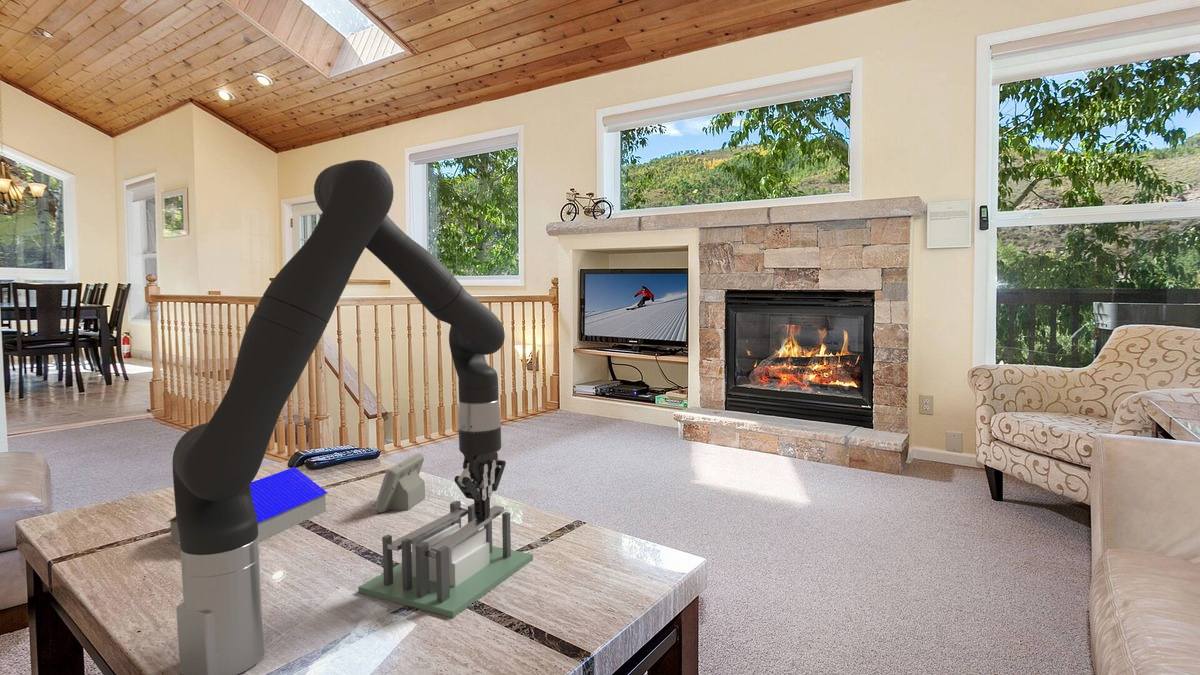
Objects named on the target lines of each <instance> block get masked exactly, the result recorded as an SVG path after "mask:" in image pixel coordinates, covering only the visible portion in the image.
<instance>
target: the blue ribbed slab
mask: <svg viewBox="0 0 1200 675" xmlns="http://www.w3.org/2000/svg"><path fill="white" fill-rule="evenodd" d="M250 484H251V495H252V501H253V505H254V509H255V512H256V515H257V520H258V541H259V543H261V542H263V541H265V540H268V539H270V538H272V537H274V536H277V535H278V534H280V533H283V532H284V531H287V530H289V529H292V528H293V527H295V525H296V526H297V524H298V525H300V524H302V523H304V522H306V521H309V520H310V519H312V518H314V516H315V517H316V516H320V514H322V513H325V512H326V511H327V509H326V507H327V506H326V505H327V504H326V495H327V494H328V493H329V492H327V490H325V489H324V488H322V487H321V486H320V485H318V484H317V483H316V482H315V481H313V480H312V479H311V478H309V477H308V476H307V475H306V474H304V473H303V472H301V470H299V469H298V468H296V467H295V466H293V467H291V468H288V469H284V470H282V471H278V472H276V473H274V474H271V475H268V476H266V477H263V478H259V479H257V480H253V481H252V482H251V483H250ZM305 520H306V521H305ZM303 521H304V522H303ZM301 522H302V523H301ZM166 523H170V524H169V525H170V537H171V538H170V539H171V541H177V542H176V543H178V542H180V537H179V531H178V526H177V520H176V515H175V516H173V517H172V518H170V519H168V520H167V521H166ZM299 523H300V524H299Z"/></svg>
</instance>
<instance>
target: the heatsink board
mask: <svg viewBox="0 0 1200 675" xmlns="http://www.w3.org/2000/svg"><path fill="white" fill-rule="evenodd" d="M461 503H462V502H461V500H454V501H453V502H451V503H450V502H449V513H451V512H453V511H455V510H458V508H462V506H461V505H462V504H461ZM467 509H468V514H467V524H468V523H469V522H471V521H472V520H474V519H475V518H476V517H475V511H474V503H472V504H470V505H468V506H467ZM501 522H502V523H501V524H502V526H501V528H502V530H501V531H502V533H501V534H502V547H499V546H498V547H497V546H494V545H493V520H491V521H490V522H489V523H487V524H486V525H484V526H483V527H482V529H481V528H480V529H479V530H477V531H476V532H474V533H473V534H471V535H470V536H469V537H467V538H466V539H464V540H463V541H461V542H460V543H459V544H457V545H456V546H454V547H453V548H451V549H450V550H449V547H448V546H442V547H441V548H439V549H437V550H436V558H432V557H427V556H425V552H426V551H429V550H430V549H431V548H432V547H434V546H435V545H437V544H438V543H440V542H441V541H443V540H444V539H446V538H447V537H449V536H450V535H452V534H453V533H455V532H456V531H458V530H459V529H460V528H462V527H463V526H462V518H460V519H458V520H456V521H454V522H452V523H450V524H448V525H446V526H444V527H442V528H441V529H439V530H437V531H435V532H433V533H431V534H429V535H427V536H425V537H423V538H422V539H420V540H418V541H416V542H414V543H412V544H411V540H410V539H405V540H403V541H401V546H402V549H401V562H400V563H399V564H397V565H395V566H394V564H393V563H394V560H393V558H394V557H393V550H391V549H388V545H387V544H389V543H391V542H393V535H391V534H386V535H384V536H382V539H381V541H382V567H383V568H382V569H383V570H382V572H383V573H381V574H378V575H377V576H376V577H373V578H371V579H370V580H368V581H366V582H365V583H362V584H361V585H359V586H358V590H357V591H358V593H360V594H362V595H367V596H370V597H373V598H378V599H381V600H386V601H388V602H393V603H397V604H400V605H403V606H408V607H411V608H415V609H418V610H422V611H427V612H430V613H433V614H438V615H442V616H445V617H449V618H452V619H454V618H455V617H457V616H458V615H459V614H461V613H462V612H464V611H465V610H466V609H468V608H469V607H470V606H471V604H472V603H473V604H474V603H475V601H476V602H477V601H478V600H480V599H481V598H482V597H484V596H485V595H487V594H488V593H490V590H491V589H492V590H493V589H495V588H496V587H498V586H499V585H500V584H501V583H503V582H504V581H506V580H507V579H508V578H510V577H512V576H513V574H515V573H517V571H519V570H520V569H523V567H525V566H526V565H527V564H529V563H530V562H531V561H533V560H534V554H533V553H529V552H524V551H520V550H519V551H518V550H514V549H512V548H511V547H512V546H511V545H512V544H511V542H512V541H511V537H512V536H511V535H512V534H511V512H509V511H504V512H503V513H501ZM506 578H507V579H506ZM505 579H506V580H505ZM494 587H495V588H494ZM492 590H491V591H492ZM487 592H488V593H487ZM486 593H487V594H486ZM484 594H485V595H484ZM483 595H484V596H483ZM480 597H481V598H480ZM479 598H480V599H479ZM473 604H472V605H473ZM468 606H469V607H468ZM464 609H465V610H464ZM461 611H462V612H461ZM460 612H461V613H460ZM457 614H458V615H457ZM456 615H457V616H456Z"/></svg>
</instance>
